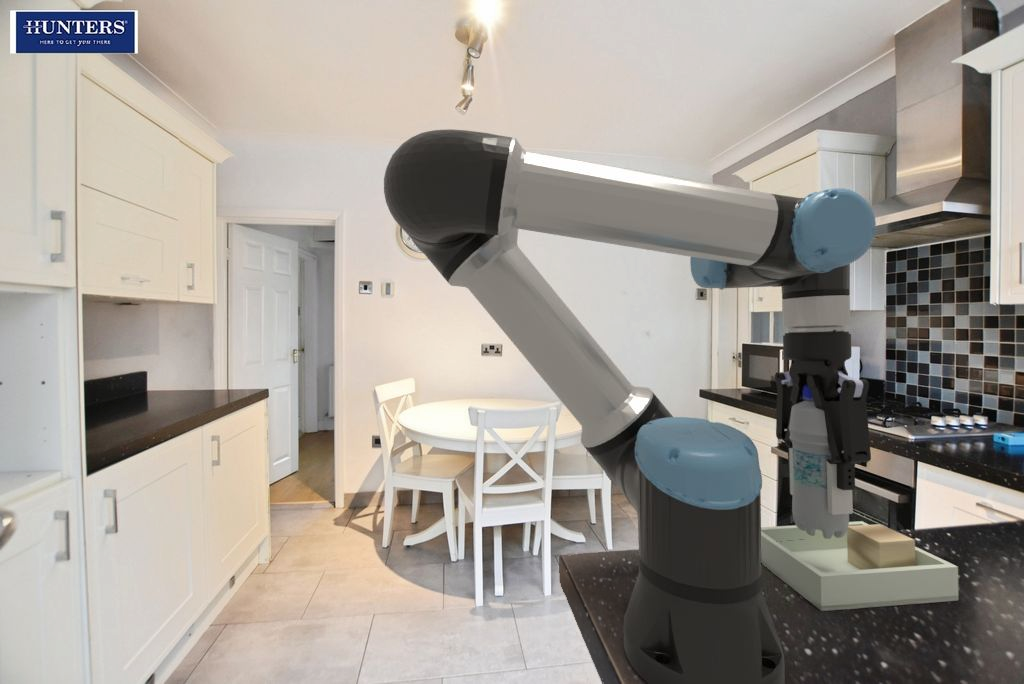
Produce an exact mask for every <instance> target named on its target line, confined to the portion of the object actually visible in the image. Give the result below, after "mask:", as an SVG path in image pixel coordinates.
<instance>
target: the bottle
mask: <svg viewBox="0 0 1024 684" xmlns="http://www.w3.org/2000/svg"><path fill="white" fill-rule="evenodd" d="M803 399H805V401H802V402H800V403H798V404H795V405H793V406H792V409H791V417H790V424H789V431H790V437H789V438H790V440H791V441H792V444H793V495H792V500H791V501H792V502H791V504H792V505H791V507H792V508H791V511H792V518H793V521H794V525H796V526H797V527H798V528H799V529H800V530H802V531H805V530H806V532H807V534H809V535H811V536H814V535H815V530H816V529H817V530H821V531H822V532H823V537H824V538H825V539H830V538H831V537H832V536H833V533H834V536H835V537H836V538H841V537H843V536H844V535H845V534H846V532H847V528H848V524H849V522H850V514H839V515H832V514H830V513H828V497H827V459H832V456H831V452H830V448H829V444H828V440H827V436H828V435H827V429H826V422H825V413H824V411H823V410H822V409H818V408H816V407H815V404H814V400H813V396H812V392H811V389H810V388H809V387H808V384H807V385H805V386H804V387H803ZM827 402H831V401H827ZM842 453H844V452H843V451H842Z"/></svg>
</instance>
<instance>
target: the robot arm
mask: <svg viewBox="0 0 1024 684" xmlns="http://www.w3.org/2000/svg"><path fill="white" fill-rule="evenodd" d="M383 194H384V199H385V203H386V204H385V205H386V206H387V208H388V211H389V212H390V214H391V217H392V218H393V220H394V221H395V223H396V224H398V225H399V227H400V228H401V229H402V230H403V231H404V232H405V233H406V235H407V236H409V238H410V239H411V241H412V242H413V244H414V245H415V246H416V248H417V249H418V250H419V251H420V252H421V253H422V254H423V255H425V257H426V258H427V259H428V261H429V262H430V263H431V264H432V265H433V267H435V268H436V270H437V271H438V272H439V273H440V275H441V276H442V277H443V279H444V280H445V281H446V282H447V283H448V285H450V286H452V287H462V288H466V289H468V290H469V292H470V293H471V294H472V295H473V296H474V298H475V299H476V300H477V301H478V303H479V304H480V305H481V306H482V307H483V308H484V310H485V311H486V312H487V314H488V315H489V316H490V317H491V318H492V320H493V321H494V322H495V323H496V324H497V325H498V327H499V328H500V329H501V331H503V332H504V334H505V335H506V336H507V337H508V339H509V340H510V341H511V343H513V345H514V347H515V348H517V349H518V351H519V352H520V353H521V355H522V356H523V357H524V358H525V359H526V360H527V362H528V363H529V364H530V365H531V367H532V368H533V369H534V370H535V371H536V373H538V375H539V377H540V378H541V379H542V380H543V381H544V383H546V385H547V386H548V388H550V390H551V391H552V392H553V393H554V394H555V396H556V397H557V398H558V399H559V401H560V402H561V403H562V404H563V405H564V406H565V408H566V409H567V410H568V411H569V413H570V414H571V415H572V416H573V417H574V418H575V420H576V421H577V422H578V423H579V425H581V434H580V443H581V444H582V446H583V447H584V448H585V449H586V451H587V452H588V453H589V454H590V456H591V457H592V458H593V460H595V462H596V463H597V464H598V465H599V466H600V468H601V469H602V470H603V471H604V474H605V475H606V476H607V478H608V479H609V480H610V482H611V483H613V485H614V486H616V488H617V489H619V491H620V493H621V494H622V495H623V496H624V497H625V498H626V500H627V501H628V503H629V504H630V505H631V507H633V509H634V510H635V512H636V514H637V530H638V532H637V533H638V534H637V535H638V536H637V537H638V539H637V540H638V574H637V577H636V580H635V584H634V587H633V589H632V593H631V596H630V597H629V598H630V599H629V602H628V605H627V608H626V610H625V614H624V618H623V648H624V652H625V656H626V658H627V660H628V662H629V664H630V665H631V667H632V669H633V670H634V671H635V672H636V673H637V675H638V676H640V678H641V679H643V680H644V681H645V682H646V683H647V684H786V683H785V682H786V677H785V676H786V675H785V671H786V670H785V655H784V650H783V649H784V648H783V647H782V644H781V641H780V638H779V636H778V632H777V630H776V626H775V624H774V622H773V619H772V616H771V615H772V614H771V613H770V610H769V607H768V605H767V602H766V600H765V596H764V594H763V581H762V580H763V579H762V577H763V576H762V571H763V570H762V565H763V564H761V527H762V507H761V506H762V505H761V504H762V503H761V502H762V500H761V498H762V497H761V492H762V491H761V490H762V488H763V478H762V477H763V475H762V470H761V468H760V467H761V466H760V461H759V460H760V459H759V453H758V449H757V447H756V445H755V443H754V442H753V440H752V439H751V437H749V436H748V435H747V434H745V433H744V432H743V431H741V430H739V429H737V428H736V427H733V426H730V425H728V424H726V423H722V422H715V421H714V422H713V421H710V420H709V419H705V418H699V417H686V416H679V417H678V416H673V415H672V414H671V412H670V411H669V410H668V409H667V407H666V406H665V405H664V404H663V402H661V400H660V399H659V397H657V395H656V394H655V393H654V392H653V390H652V389H651V388H649V387H645V386H635V385H633V384H632V383H631V382H630V381H629V380H628V379H627V377H626V376H625V375H624V373H622V371H621V370H620V368H619V367H618V366H617V365H616V364H615V363H614V361H613V360H612V359H611V358H610V357H609V355H608V354H607V353H606V351H605V350H604V349H603V348H602V347H601V346H600V344H598V342H597V341H596V339H595V338H594V337H593V336H592V335H591V334H590V332H589V331H588V330H587V329H586V327H585V326H584V325H583V324H582V323H581V321H580V320H579V319H578V318H577V316H576V315H575V314H574V313H573V312H572V310H571V309H570V308H569V306H568V305H567V304H566V303H565V302H564V300H563V299H562V298H561V297H560V296H559V294H558V293H557V292H556V291H555V290H554V289H553V287H552V285H550V283H549V282H548V281H547V280H546V279H545V277H544V276H543V275H542V274H541V272H540V271H539V270H538V269H537V268H536V267H535V265H534V264H533V263H532V262H531V260H530V259H529V258H528V257H527V256H526V254H525V253H524V252H523V251H522V249H521V248H520V247H519V245H518V236H519V230H524V231H529V232H536V233H540V234H541V233H542V234H547V235H554V236H560V237H567V238H573V239H580V240H586V241H591V242H597V243H605V244H610V245H617V246H623V247H629V248H633V249H634V248H635V249H641V250H646V251H653V252H659V253H665V254H670V255H671V254H672V255H678V256H684V257H689V258H690V262H689V264H690V272H691V276H692V278H693V280H694V283H695V284H696V285H697V286H699V287H700V288H702V289H720V290H725V289H738V288H739V289H741V288H742V289H743V288H746V289H747V288H763V287H764V288H765V287H767V288H769V287H773V288H775V287H776V288H777V287H781V314H782V315H781V325H782V326H781V327H782V328H783V329H787V332H786V333H784V335H782V347H783V348H782V349H783V351H782V352H783V353H782V355H783V358H784V359H785V360H789V361H790V362H791V363H790V366H789V370H788V371H780V372H775V374H774V379H775V384H776V385H775V386H776V392H777V393H776V419H775V421H776V423H775V426H776V427H775V436H776V438H777V440H782V441H783V442H784V445H785V447H787V465H788V468H789V494H790V495H791V496H793V444H792V441H791V440H790V438H789V437H790V431H789V424H790V417H791V409H792V406H793V405H795V404H798V403H800V402H802V401H805V399H803V387H804V386H805V385H807V384H808V387H809V388H810V389H811V392H812V396H813V400H814V404H815V407H816V408H818V409H822V410H823V411H824V413H825V422H826V429H827V435H828V436H827V440H828V444H829V448H830V452H831V456H832V459H827V497H828V513H830V514H832V515H839V514H849V515H852V514H853V513H854V511H853V509H854V508H853V490H855V487H856V479H855V478H856V469H855V468H856V465H857V463H863V462H864V463H866V462H870V461H871V458H872V456H871V442H870V432H869V430H870V429H869V417H868V406H867V396H868V393H869V388H870V382H869V381H868V380H867V379H855V378H854V377H852V376H850V375H849V373H848V371H847V369H846V365H845V363H846V361H847V360H850V359H851V357H852V334H851V333H850V332H849V331H845V328H846V327H847V328H848V327H849V326H851V294H850V293H851V290H850V289H851V288H850V287H851V285H850V284H851V282H850V281H851V279H850V277H851V276H850V275H851V274H850V273H851V269H850V268H851V264H852V263H854V262H856V261H858V260H859V259H861V257H862V256H864V255H865V254H866V252H868V250H869V249H870V247H871V245H872V243H873V241H874V237H875V234H876V227H877V226H876V223H877V221H876V215H875V212H874V210H873V209H872V206H871V204H870V203H869V202H868V201H867V199H866V198H864V197H863V196H862V194H859V193H858V192H856V191H854V190H851V189H849V188H848V189H847V188H843V187H834V188H833V187H832V188H829V189H824V190H822V191H820V190H819V191H814V192H812V193H809V194H807V195H805V197H796V196H795V197H794V196H789V195H782V194H775V193H770V192H764V191H758V190H753V189H747V188H741V187H734V186H729V185H723V184H717V183H711V182H706V181H699V180H694V179H690V178H689V179H688V178H682V177H676V176H671V175H665V174H661V173H660V174H659V173H656V172H655V173H654V172H649V171H643V170H638V169H637V170H636V169H632V168H631V169H630V168H624V167H619V166H613V165H609V164H608V165H606V164H603V163H602V164H601V163H596V162H591V161H585V160H577V159H574V158H566V157H561V156H555V155H550V154H544V153H539V152H538V153H537V152H532V151H527V150H525V149H524V148H523V147H522V145H521V143H520V142H519V141H518V139H517V138H516V137H511V136H505V135H498V134H494V133H488V132H481V131H474V130H467V129H466V130H465V129H451V128H450V129H449V128H448V129H434V130H428V131H424V132H421V133H419V134H416V135H414V136H412V137H410V138H408V139H407V140H406V141H404V142H403V143H402V144H400V145H399V147H398V148H397V149H396V150H395V152H393V153H392V155H391V157H390V159H389V161H388V164H387V166H386V168H385V172H384V176H383ZM827 401H830V402H827ZM842 451H843V452H844V453H842Z"/></svg>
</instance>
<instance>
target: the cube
mask: <svg viewBox="0 0 1024 684" xmlns="http://www.w3.org/2000/svg"><path fill="white" fill-rule="evenodd" d="M915 547H916V540H915V539H914V538H911V537H909V536H907V535H905V534H903V533H900V532H898V531H896V530H894V529H892V528H889V527H887V526H885V525H882V524H881V523H878V524H875V523H874V524H869V525H860V526H848V528H847V551H848V562H849V563H850V564H852V565H854V566H855V567H857V568H859V569H860V570H866V569H880V568H894V567H908V566H915Z"/></svg>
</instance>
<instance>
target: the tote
mask: <svg viewBox="0 0 1024 684" xmlns="http://www.w3.org/2000/svg"><path fill="white" fill-rule="evenodd" d="M860 525H870V524H868V523H866V522H864V521H863V520H861V521H849V524H848V526H860ZM799 539H804V540H799ZM787 540H795V541H787ZM776 541H782V542H776ZM763 542H764V543H763ZM761 563H762V565H763V566H764V567H765V568H766V567H767V568H766V569H768V570H769V571H770V572H771V573H773V574H774V575H775V576H776V577H778V578H779V579H780V580H782V581H783V582H784V583H786V584H787V585H788V586H789V587H791V588H792V590H794V591H795V592H797V593H798V594H799V595H800V596H802V598H804V599H806V600H807V601H808V602H810V604H812V605H813V606H815V607H816V608H817V609H818V610H819V611H821V612H826V611H827V612H829V611H839V610H840V611H841V610H853V609H854V610H855V609H865V608H866V609H867V608H877V607H878V608H879V607H881V608H882V607H891V606H904V605H918V604H929V603H942V602H943V603H944V602H956V601H959V566H957V565H955V564H953V563H951V562H949V561H947V560H944V559H943V558H940V557H938V556H936V555H934V554H932V553H930V552H927V551H925V550H924V549H922V548H919V547H917V546H915V566H908V567H894V568H880V569H866V570H860V569H859V568H857V567H855V566H854V565H852V564H850V563H849V562H848V551H847V532H846V534H845V535H844V536H843V537H841V538H836V537H835V536H834V533H833V536H832V537H831V538H830V539H825V538H824V537H823V532H822V531H821V530H817V529H816V530H815V535H814V536H811V535H809V534H807V532H806V530H805V531H802V530H800V529H799V528H798V527H797V526H796V525H795V524H794V525H793V524H792V525H781V526H779V525H778V526H761Z"/></svg>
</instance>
